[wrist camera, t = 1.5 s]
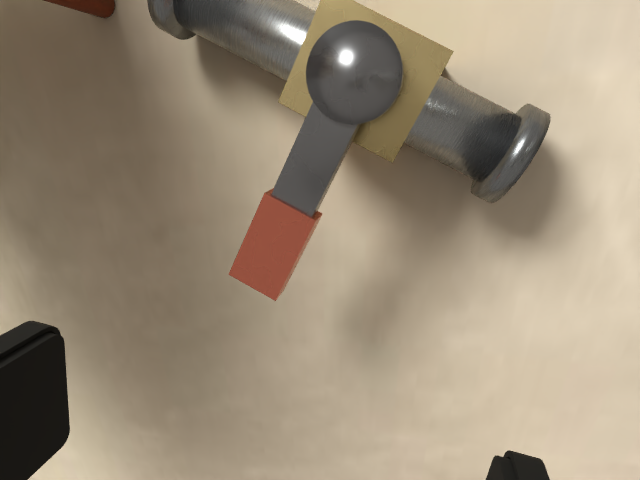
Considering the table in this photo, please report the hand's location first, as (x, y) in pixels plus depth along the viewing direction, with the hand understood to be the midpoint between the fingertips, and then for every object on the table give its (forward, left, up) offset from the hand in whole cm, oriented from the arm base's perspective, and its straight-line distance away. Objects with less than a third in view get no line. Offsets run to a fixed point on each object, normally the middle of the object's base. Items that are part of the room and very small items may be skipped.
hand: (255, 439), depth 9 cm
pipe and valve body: (+6, -7, -24) cm, 26 cm away
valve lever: (+4, -2, -15) cm, 16 cm away
